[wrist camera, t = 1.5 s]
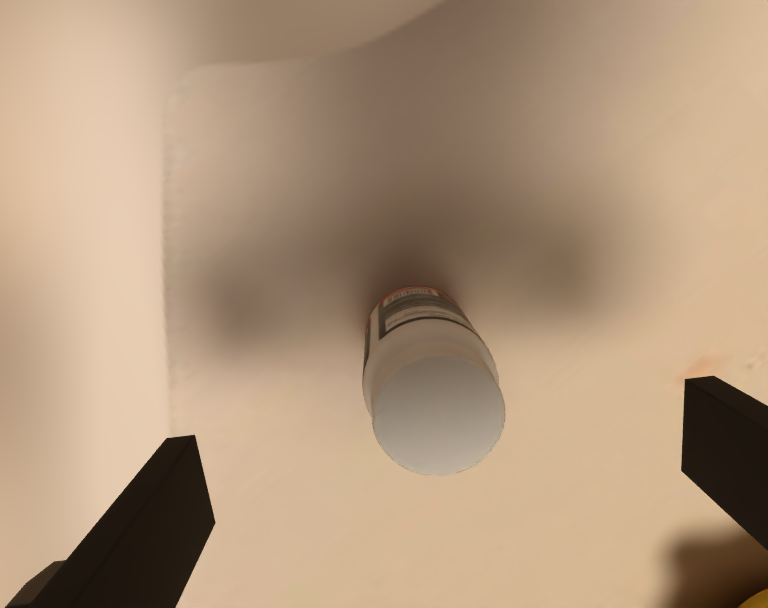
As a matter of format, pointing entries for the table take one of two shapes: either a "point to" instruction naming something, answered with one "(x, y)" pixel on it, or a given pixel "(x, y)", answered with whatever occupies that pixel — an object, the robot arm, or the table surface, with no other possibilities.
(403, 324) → the pill bottle
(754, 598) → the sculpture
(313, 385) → the table surface
